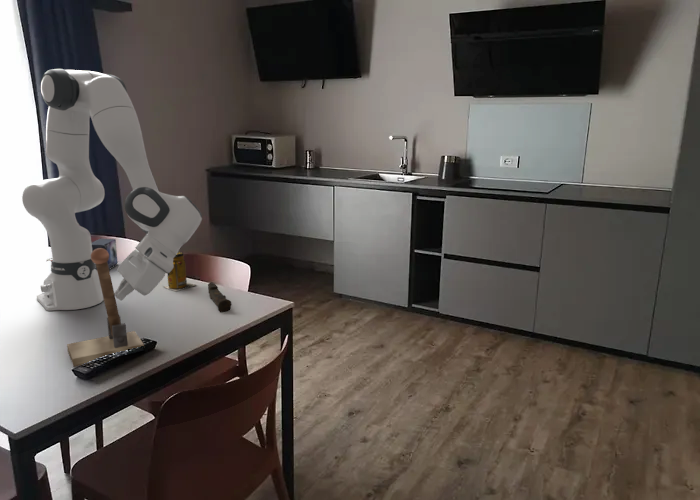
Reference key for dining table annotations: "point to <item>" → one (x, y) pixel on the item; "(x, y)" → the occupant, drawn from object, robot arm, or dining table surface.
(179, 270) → the condiment
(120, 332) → the press base
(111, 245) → the small box
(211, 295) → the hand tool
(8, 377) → the dining table surface
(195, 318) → the dining table surface
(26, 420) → the dining table surface
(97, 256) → the lever
